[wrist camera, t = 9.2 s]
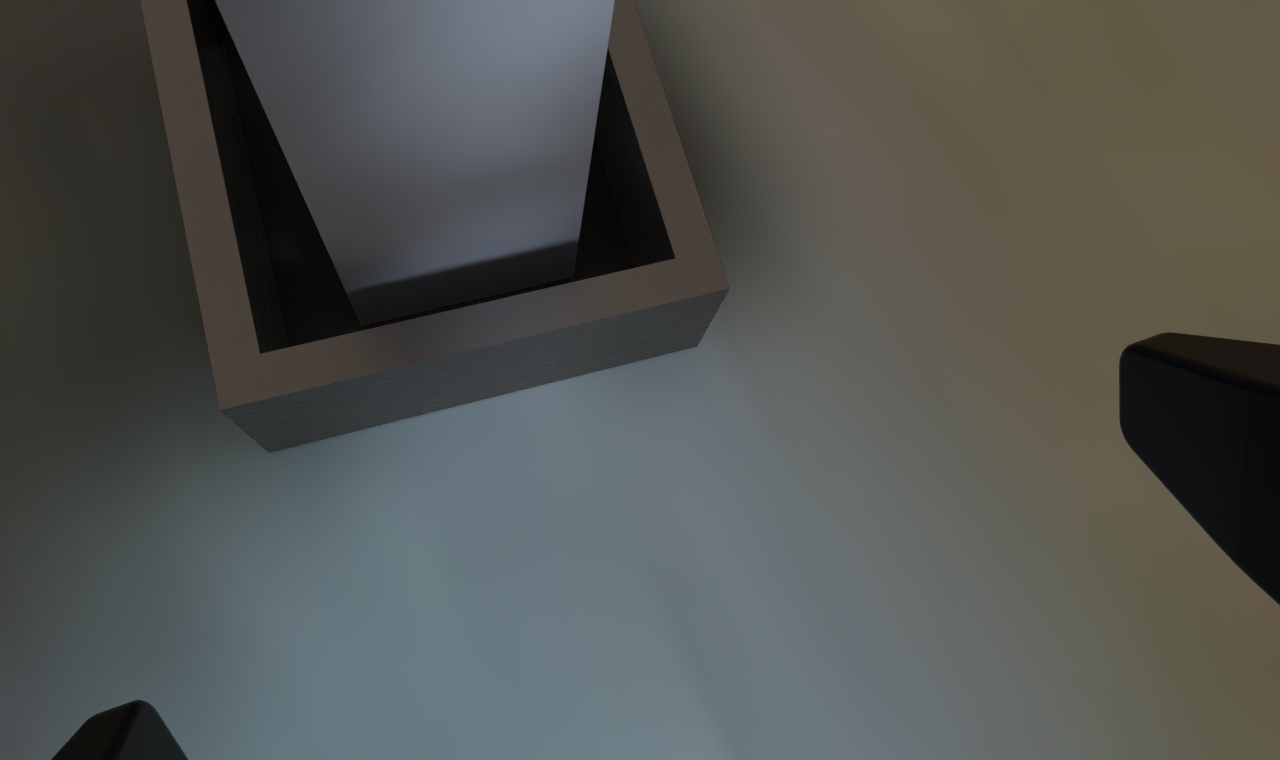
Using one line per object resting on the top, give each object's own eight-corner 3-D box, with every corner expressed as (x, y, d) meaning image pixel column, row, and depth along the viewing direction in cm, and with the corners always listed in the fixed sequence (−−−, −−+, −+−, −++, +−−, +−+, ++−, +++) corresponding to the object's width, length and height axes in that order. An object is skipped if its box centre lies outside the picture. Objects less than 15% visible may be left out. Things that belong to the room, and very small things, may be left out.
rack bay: (696, 346, 19) (745, 258, 15) (269, 452, 17) (194, 387, 13) (572, -46, 21) (585, -216, 17) (179, 19, 19) (92, -151, 15)
